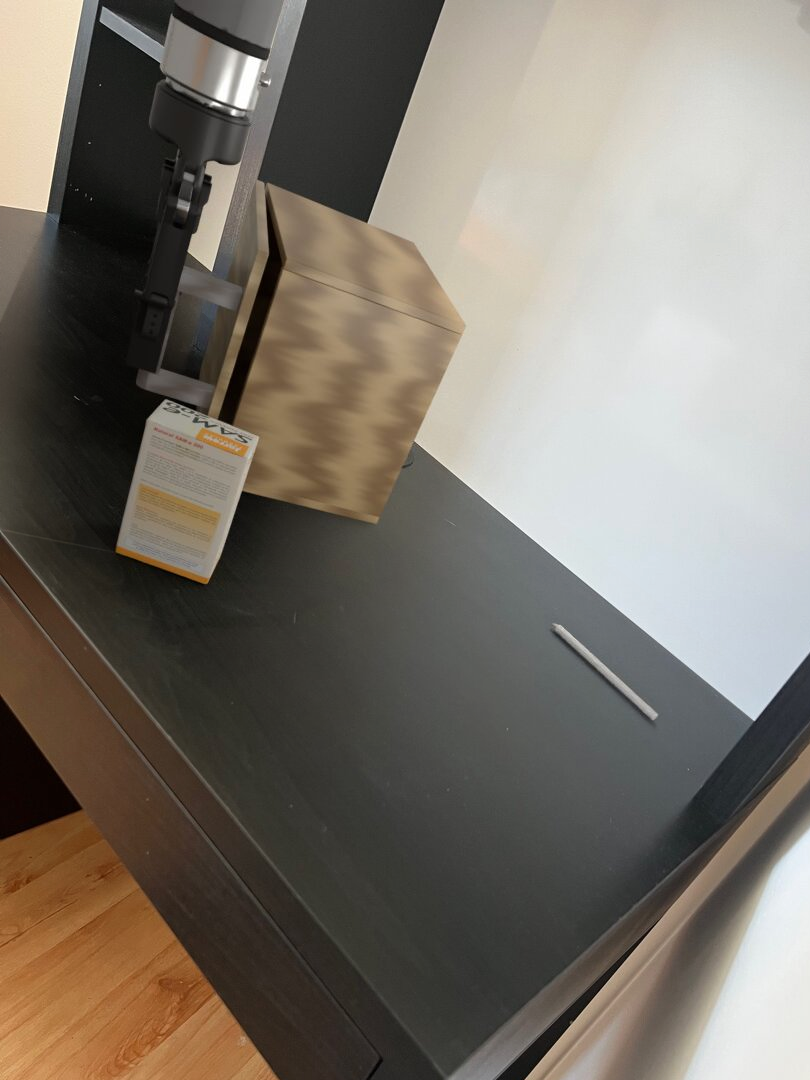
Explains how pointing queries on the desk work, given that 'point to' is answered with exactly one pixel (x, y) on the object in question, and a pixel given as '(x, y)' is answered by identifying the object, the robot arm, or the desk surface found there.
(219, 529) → the supplement box
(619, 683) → the pencil
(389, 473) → the cupboard
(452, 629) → the desk surface
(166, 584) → the desk surface
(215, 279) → the cupboard door
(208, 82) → the robot arm
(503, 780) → the desk surface
